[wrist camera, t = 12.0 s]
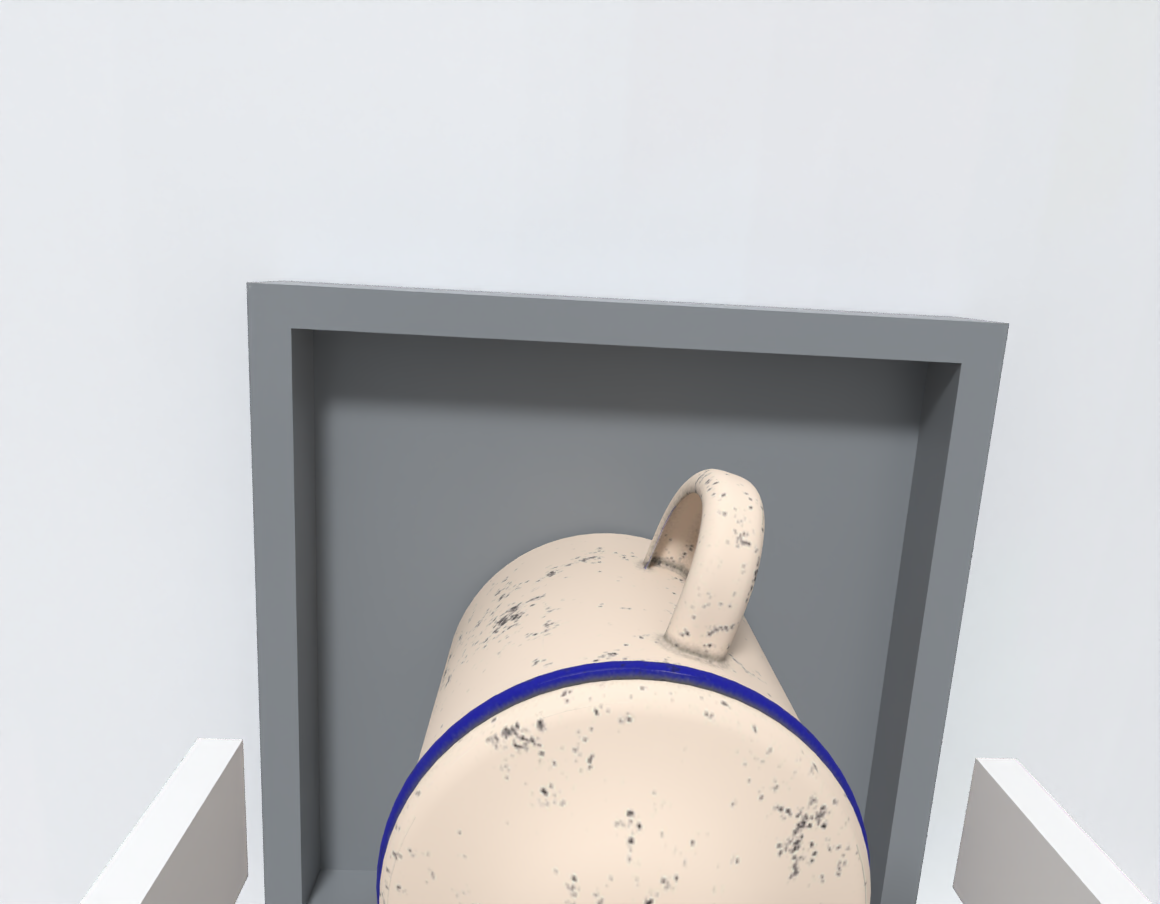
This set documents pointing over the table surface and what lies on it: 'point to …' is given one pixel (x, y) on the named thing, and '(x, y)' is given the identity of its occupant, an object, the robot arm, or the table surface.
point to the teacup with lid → (624, 735)
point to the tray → (596, 521)
